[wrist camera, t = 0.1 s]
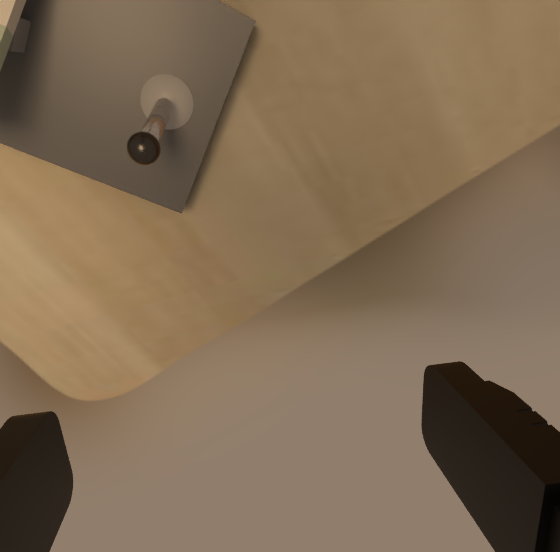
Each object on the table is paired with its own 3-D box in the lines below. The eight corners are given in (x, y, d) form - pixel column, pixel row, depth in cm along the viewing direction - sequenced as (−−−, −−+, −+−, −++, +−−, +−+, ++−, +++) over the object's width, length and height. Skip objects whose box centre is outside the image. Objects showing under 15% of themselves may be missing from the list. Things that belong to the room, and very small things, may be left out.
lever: (156, 83, 24) (126, 136, 20) (183, 97, 24) (159, 151, 20) (149, 108, 25) (119, 163, 21) (176, 120, 25) (151, 176, 21)
